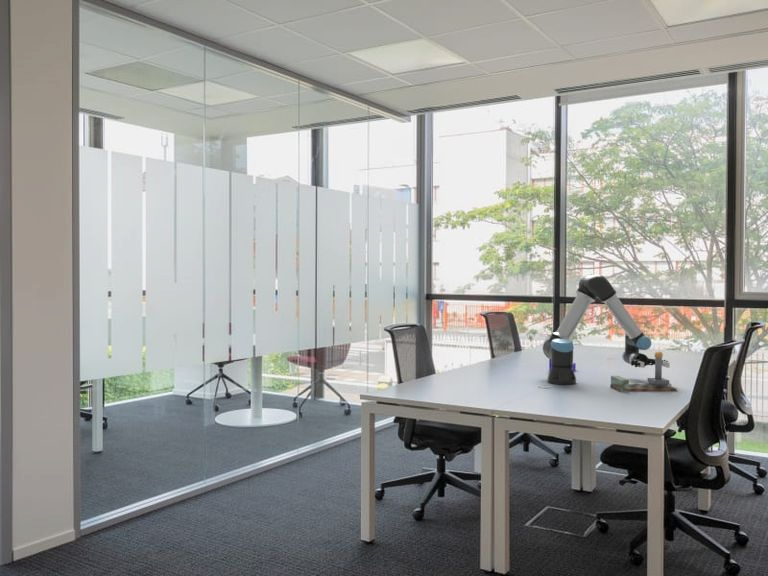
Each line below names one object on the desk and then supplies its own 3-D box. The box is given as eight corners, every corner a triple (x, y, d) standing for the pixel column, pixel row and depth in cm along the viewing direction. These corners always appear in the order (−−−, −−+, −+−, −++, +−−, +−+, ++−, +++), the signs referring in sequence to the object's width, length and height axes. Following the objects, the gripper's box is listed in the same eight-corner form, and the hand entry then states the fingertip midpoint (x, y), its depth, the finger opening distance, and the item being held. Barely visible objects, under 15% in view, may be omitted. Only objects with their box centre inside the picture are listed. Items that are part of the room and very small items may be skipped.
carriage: (653, 386, 351) (654, 352, 350) (647, 383, 359) (647, 350, 358) (669, 386, 351) (669, 352, 350) (662, 383, 359) (662, 350, 358)
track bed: (619, 391, 347) (619, 380, 347) (609, 387, 361) (609, 375, 361) (677, 391, 348) (677, 380, 348) (665, 387, 362) (665, 375, 362)
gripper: (660, 366, 381) (679, 372, 360) (617, 366, 380) (632, 372, 358) (661, 353, 381) (679, 358, 359) (617, 353, 379) (633, 358, 358)
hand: (656, 365), depth 359 cm, fingers open, 13 cm apart
